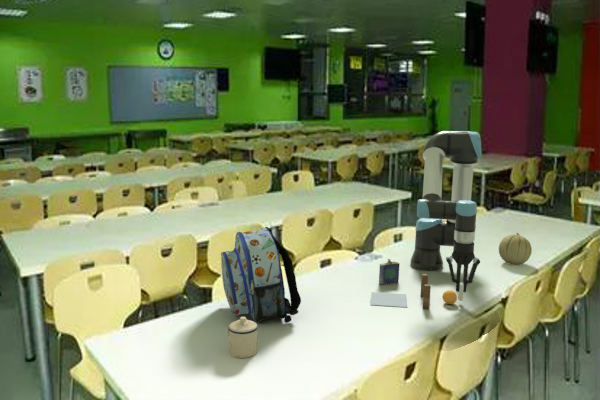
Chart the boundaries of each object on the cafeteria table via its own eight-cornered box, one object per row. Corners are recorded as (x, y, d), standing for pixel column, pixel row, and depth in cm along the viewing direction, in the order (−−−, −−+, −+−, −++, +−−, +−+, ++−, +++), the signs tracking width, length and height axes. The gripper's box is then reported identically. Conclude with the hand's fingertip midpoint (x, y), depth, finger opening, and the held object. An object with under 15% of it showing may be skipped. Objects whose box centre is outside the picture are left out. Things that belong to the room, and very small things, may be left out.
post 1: (420, 295, 229) (421, 273, 227) (426, 295, 229) (427, 274, 227) (420, 297, 227) (421, 275, 225) (427, 297, 226) (428, 276, 224)
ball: (456, 299, 222) (443, 302, 223) (454, 286, 221) (440, 289, 222) (459, 304, 217) (445, 308, 218) (456, 292, 216) (442, 295, 216)
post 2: (422, 306, 217) (423, 284, 215) (429, 306, 216) (430, 284, 215) (422, 309, 214) (423, 286, 213) (429, 309, 214) (430, 286, 212)
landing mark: (371, 292, 231) (371, 292, 231) (406, 294, 229) (406, 294, 229) (370, 305, 218) (370, 304, 218) (407, 307, 216) (407, 307, 216)
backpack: (212, 300, 221) (210, 222, 215) (274, 292, 230) (274, 218, 224) (233, 334, 191) (231, 244, 185) (302, 323, 200) (303, 238, 194)
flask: (380, 285, 240) (381, 261, 238) (377, 283, 243) (378, 259, 241) (399, 283, 243) (400, 259, 241) (396, 281, 246) (397, 257, 244)
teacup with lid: (263, 352, 178) (263, 317, 176) (241, 362, 171) (240, 326, 169) (239, 340, 186) (239, 307, 184) (217, 349, 180) (216, 314, 178)
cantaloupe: (499, 267, 266) (501, 236, 263) (496, 258, 280) (498, 229, 277) (532, 270, 263) (535, 238, 260) (527, 261, 277) (530, 231, 274)
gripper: (447, 242, 212) (444, 302, 217) (483, 244, 210) (479, 304, 215) (445, 237, 219) (442, 295, 224) (480, 239, 218) (475, 297, 222)
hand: (460, 299), depth 219 cm, fingers closed
